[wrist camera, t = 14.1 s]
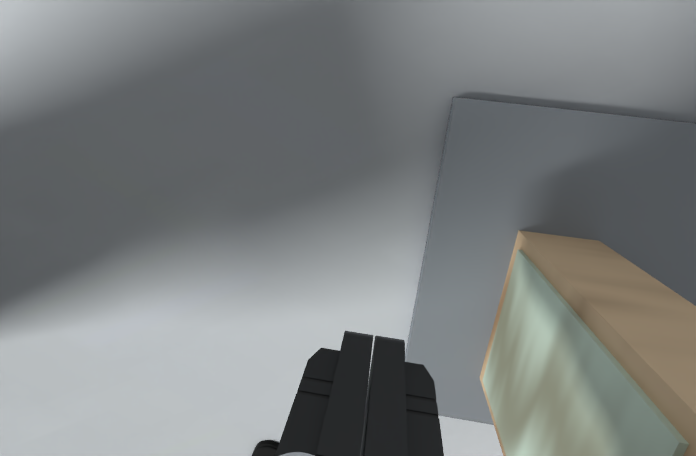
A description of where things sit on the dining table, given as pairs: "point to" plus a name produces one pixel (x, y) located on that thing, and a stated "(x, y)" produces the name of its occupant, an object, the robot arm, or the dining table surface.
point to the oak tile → (589, 355)
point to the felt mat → (541, 219)
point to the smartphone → (265, 448)
